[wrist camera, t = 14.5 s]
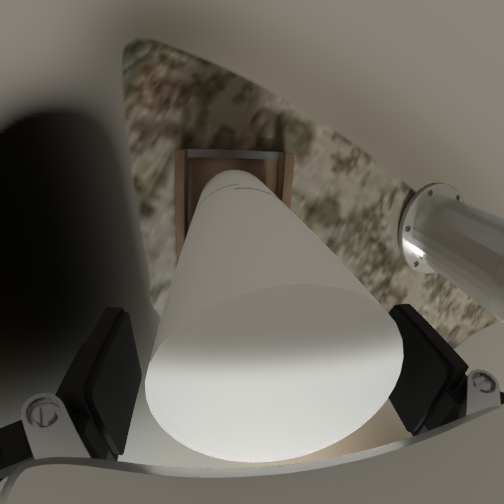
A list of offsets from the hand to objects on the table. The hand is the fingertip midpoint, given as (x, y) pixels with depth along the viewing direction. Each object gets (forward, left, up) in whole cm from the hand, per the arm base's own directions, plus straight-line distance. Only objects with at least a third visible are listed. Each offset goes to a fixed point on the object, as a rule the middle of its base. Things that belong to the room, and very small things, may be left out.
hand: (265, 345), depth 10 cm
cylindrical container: (0, 0, -22) cm, 22 cm away
